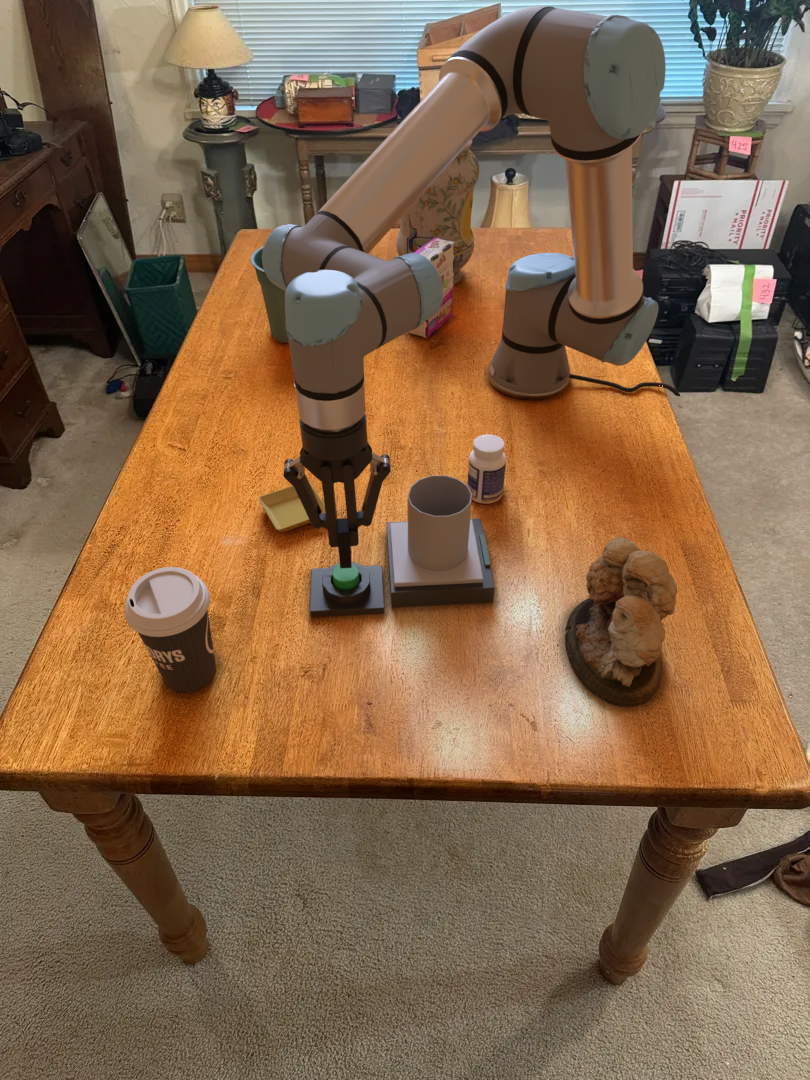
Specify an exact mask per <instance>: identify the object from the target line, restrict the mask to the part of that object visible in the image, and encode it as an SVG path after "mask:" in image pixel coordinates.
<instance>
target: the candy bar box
mask: <svg viewBox="0 0 810 1080" xmlns="http://www.w3.org/2000/svg"><path fill="white" fill-rule="evenodd" d="M454 243H455V242H452V241H448V240H444V239H440V238H433V239H432V240H431V241H429V242H428V243H427V244H425V245H424V246H422V247H421V248H420V249H418V250H417V251H415V252H414V253H417V254H420V255H423V256H424V257H426V258H427V259H428V260H430V261H431V262H432V264H433V265H434V266H435V268H436V269H437V271H438V273H439V275H440V277H441V280H442V284H443V300H442V304H441V306H440V309H439V310H438V311H437V313H436V314H435V315H433V316H432V317H430V318H429V319H428V320H426V321H425V322H423V323H422V324H421V325H420V326H419V327H417V328H416V329H413V330H410V331H408V332H407V333H408V334H410V335H412V336H417V337H419V338H424V339H428V338H430V337H431V336H432V335H433V334H434V333H436V331H437V330H439V329H440V328H442V326H443V325H445V324H446V323H447V322H448V321H449V320H450V319H452V318H453V316H454V315H453V313H454V311H453V310H454V284H453V278H454Z"/></svg>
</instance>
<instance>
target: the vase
mask: <svg viewBox="0 0 810 1080" xmlns="http://www.w3.org/2000/svg"><path fill="white" fill-rule="evenodd" d="M472 144H473V139H472V140H471V141H470V142H469V143H468V144H467V146H466V147H465V148H464V149H463V150H462V151H461V152H460V153H459V154H458V155H457V157H456V158H455V159H454V160H453V161H452V162H451V163H450V164H449V165H448V167H447V168H446V169H445V170H444V171H443V172H442V173H441V174H440V175H439V176H438V178H437V179H436V180H435V181H434V182H433V183H432V184H431V185H430V186H429V187H428V189H427V190H426V191H425V192H424V193H423V194H422V195H421V196H420V197H419V198H418V200H417V201H416V202H415V203H414V204H413V205H412V206H411V207H410V208H409V209H408V211H407V212H406V213H405V214H404V215H403V216H402V217H401V218H400V224H399V225H400V226H399V230H398V232H397V237H396V244H395V247H396V248H395V249H396V252H397V256H402V255H405V254H410V253H414V252H415V251H417V250H418V249H420V248H421V247H422V246H424V245H425V244H427V243H428V242H429V241H431V240H432V239H433V238H440V239H444V240H448V241H452V242H455V243H454V278H453V285H455V284H457V283H459V282H460V281H461V280H462V277H463V272H462V269H463V268H464V267H465V266H466V265H467V263H469V261H470V259H471V257H472V255H473V253H474V248H475V236H474V233H473V230H472V214H473V213H472V212H473V202H474V190H475V186H476V184H477V182H478V181H479V177H480V163H479V160H478V157H477V156H476V155H475V154H474V153H473V152H472V151H471V150H470V148H471V146H472Z"/></svg>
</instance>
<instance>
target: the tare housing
mask: <svg viewBox="0 0 810 1080" xmlns="http://www.w3.org/2000/svg"><path fill="white" fill-rule="evenodd" d="M351 562H352V564H354V565H355V566H356V567H357V568H358V570H359V584H358V585H357V586H356V587H355V588H353V589H351V590H340V589H338V588H336V587H335V585H334V583H333V575H332V572H333V569H334V568H335V567H336V566H337V565H339V564H340V561H339V562H337V563H335V564H333V565H330V566H329V567H318V568H317V567H316V568H311V570H310V597H309V616H310V618H318V617H341V616H357V615H358V616H359V615H360V616H361V615H379V614H385V596H384V595H385V593H384V580H383V578H384V577H383V576H384V575H383V565H363V564H360V563H358V562H355V561H351Z"/></svg>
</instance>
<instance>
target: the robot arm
mask: <svg viewBox="0 0 810 1080" xmlns="http://www.w3.org/2000/svg"><path fill="white" fill-rule="evenodd" d="M664 49H665V48H664V44H663V43H662V40H661V37H660V35H659V34H658V32H657V31H656V30H655V29H654V28H653V27H652V26H650V25H649V24H648V23H645V22H643V21H640V20H635V19H632V18H629V17H628V16H625V15H623V14H622V15H620V14H619V15H618V14H611V15H601V14H596V13H589V12H585V11H577V10H571V9H565V8H558V7H555V6H549V5H532V6H526V7H523V8H520V9H516V10H514V11H511V12H509V13H507V14H505V15H503V16H501V17H499V18H498V19H496V20H494V21H492V22H491V23H489V24H488V25H486V26H485V27H483V28H482V29H480V30H479V31H477V32H476V33H474V35H473V36H471V37H469V39H468V40H466V41H465V42H464V43H463V44H462V45H461V46H459V48H457V50H456V51H455V52H453V54H451V56H450V57H449V58H448V59H447V60H446V61H445V62H444V63H443V64H442V65H441V68H440V71H439V73H438V82H437V83H436V84H435V85H434V86H433V88H432V89H431V90H430V91H429V92H428V93H427V94H426V95H425V96H424V97H423V98H422V100H420V101H419V102H418V103H417V105H416V106H415V107H414V108H413V109H412V110H411V111H410V112H409V113H408V114H407V115H406V116H405V118H404V119H402V121H401V122H400V123H399V124H398V125H397V126H396V127H395V129H393V131H392V132H391V133H390V134H388V136H387V137H386V138H385V139H384V140H383V141H382V142H381V143H380V144H379V146H377V148H376V149H375V150H374V151H373V152H372V153H371V154H370V155H369V156H368V157H367V158H366V159H365V161H364V162H362V164H360V166H359V167H358V168H357V169H356V170H355V171H354V172H353V174H351V176H349V177H348V178H347V180H346V181H345V182H344V183H343V184H342V185H341V186H340V187H339V188H338V190H336V192H335V193H334V194H333V195H332V196H330V198H329V199H328V200H327V201H326V202H325V203H324V204H323V206H322V207H321V208H320V209H319V210H318V211H317V212H316V214H315V215H314V216H312V217H311V218H310V220H308V222H307V223H306V224H305V225H304V226H302V225H300V224H291V223H289V224H288V223H287V224H282V225H280V226H277V227H275V229H273V230H272V231H271V232H270V234H268V236H267V238H266V240H265V242H264V245H263V246H264V248H263V253H262V264H263V269H264V272H265V273H266V277H267V278H268V279H269V280H270V281H271V282H272V283H273V284H274V285H276V286H277V287H279V288H281V289H282V290H284V291H286V292H285V314H286V320H285V325H286V330H287V335H288V341H289V343H288V348H289V354H290V359H291V360H290V361H291V366H292V373H293V380H294V391H295V399H296V407H297V414H298V417H299V420H298V422H299V423H298V424H299V429H300V430H299V431H300V437H301V445H302V447H301V449H300V450H299V456H298V457H296V458H294V459H293V458H286V459H285V460H284V463H283V474H282V475H283V478H284V479H285V480H286V481H287V482H288V483H289V484H290V485H291V486H292V485H293V486H294V488H295V490H296V492H297V494H298V496H299V499H300V501H301V503H302V505H303V507H304V509H305V511H306V513H307V516H308V518H309V520H310V522H311V523H310V524H311V526H312V528H313V529H315V530H320V529H321V528H323V529H325V530H326V531H327V537H328V546H330V548H338V558H339V562H340V568H352V562H353V561H352V547H358V545H359V542H360V541H359V540H360V539H359V529H360V527H361V526H363V527H370V526H371V525H372V522H373V519H374V515H375V512H376V508H377V503H378V501H379V496H380V494H381V493H380V492H381V489H382V485H383V482H384V481H385V480H386V478H387V477H388V476H389V475H390V473H391V457H390V456H389V454H387V453H383V454H381V455H379V454H376V453H374V452H373V448H372V447H371V445H370V443H369V441H368V425H367V414H366V411H367V409H366V389H365V388H366V387H365V373H364V372H365V370H364V369H365V365H364V363H365V361H364V360H365V359H364V358H365V356H367V355H369V354H371V353H372V352H375V351H376V350H378V349H380V348H381V347H383V346H384V345H386V344H388V343H390V342H392V341H393V340H396V339H398V338H399V337H401V336H403V335H405V334H407V333H408V331H410V330H413V329H416V328H417V327H419V326H420V325H421V324H422V323H423V322H425V321H426V320H428V319H429V318H430V317H432V316H433V315H435V314H436V313H437V311H438V310H439V309H440V306H441V304H442V300H443V284H442V280H441V277H440V275H439V273H438V271H437V269H436V268H435V266H434V265H433V264H432V262H431V261H430V260H428V259H427V258H426V257H424V256H423V255H420V254H417V253H410V254H405V255H402V256H399V255H397V256H395V257H393V258H392V259H391V260H385V259H383V258H381V257H379V256H375V255H372V254H370V253H371V251H372V250H373V249H374V248H375V247H376V246H378V244H379V243H380V242H381V241H382V239H384V237H385V236H386V235H387V234H388V233H389V232H390V231H391V229H392V228H393V227H394V226H395V225H396V224H397V223H398V222H399V221H400V220H401V217H402V216H403V215H404V214H405V213H406V212H407V211H408V209H409V208H410V207H411V206H412V205H413V204H414V203H415V202H416V201H417V200H418V198H419V197H420V196H421V195H422V194H423V193H424V192H425V191H426V190H427V189H428V187H429V186H430V185H431V184H432V183H433V182H434V181H435V180H436V179H437V178H438V176H439V175H440V174H441V173H442V172H443V171H444V170H445V169H446V168H447V167H448V165H449V164H450V163H451V162H452V161H453V160H454V159H455V158H456V157H457V155H458V154H459V153H460V152H461V151H462V150H463V149H464V148H465V147H466V146H467V144H468V143H469V142H470V141H471V140H472V141H473V139H474V138H475V137H476V136H477V135H478V134H479V133H480V132H488V131H491V130H493V129H494V128H495V127H496V126H497V125H498V124H499V123H500V122H501V120H503V118H505V117H508V116H512V115H525V116H529V117H534V118H537V119H540V120H545V121H547V122H548V124H549V133H550V142H551V146H552V149H553V151H554V152H555V153H556V154H557V155H558V156H559V157H561V158H562V159H564V164H565V173H566V174H565V175H566V184H567V186H566V187H567V195H568V205H569V207H568V208H569V217H570V228H571V237H572V249H573V256H571V255H568V254H565V253H559V252H539V253H533V254H529V255H525V256H523V257H520V258H519V259H517V260H516V261H514V262H513V263H512V264H511V265H510V266H509V269H508V273H507V278H506V284H505V286H504V289H505V296H504V305H503V306H504V308H503V317H502V329H501V330H502V331H501V339H500V341H499V343H498V345H497V347H496V350H495V352H494V354H493V356H492V358H491V361H490V364H489V367H488V381H489V383H490V384H491V386H492V387H493V388H494V389H496V390H497V391H498V392H500V393H502V394H503V395H505V396H509V397H511V398H514V399H519V400H526V401H539V400H546V399H551V398H553V397H557V396H558V395H560V394H561V393H563V392H564V391H565V390H567V388H568V386H569V383H570V379H572V380H577V381H583V382H588V383H591V384H592V383H593V384H598V385H603V386H607V387H611V388H614V389H617V390H619V391H622V392H624V393H633V392H636V391H638V390H639V389H640V388H644V387H656V388H663V389H666V390H668V391H670V392H671V393H672V394H673V395H674V396H675V397H681V394H680V392H679V391H678V390H677V389H676V388H675V387H674V386H672V385H670V384H667V383H665V382H656V381H653V382H652V381H651V382H650V381H647V382H646V381H645V382H639V383H637V384H636V385H635V386H632V387H626V386H623V385H620V384H618V383H615V382H611V381H608V380H603V379H598V378H593V377H589V376H583V375H577V374H572V373H571V370H570V365H569V358H568V353H567V348H570V349H572V350H574V351H577V352H579V353H581V354H584V355H586V356H589V357H590V358H592V359H596V360H598V361H600V362H602V363H607V364H611V365H614V366H617V367H621V366H625V365H627V364H629V363H631V361H633V359H635V357H637V355H638V354H639V352H641V350H642V349H643V347H644V345H645V343H646V342H647V340H648V339H649V337H650V335H651V333H652V331H653V328H654V326H655V324H656V321H657V318H658V314H659V304H658V302H657V301H656V300H655V299H653V298H652V297H646V296H645V295H644V283H643V279H642V277H641V275H640V274H639V272H638V271H637V270H635V269H634V247H633V246H634V237H633V234H634V233H633V230H634V229H633V226H634V225H633V146H635V144H636V143H638V141H639V140H640V138H641V137H642V136H643V135H642V134H643V133H644V132H645V131H646V129H648V127H649V126H650V125H651V124H652V122H653V120H654V119H655V116H656V114H657V112H658V109H659V107H660V103H661V100H662V99H661V93H662V91H663V90H664V88H665V82H666V67H667V66H666V55H665V50H664ZM566 347H567V348H566ZM659 385H660V386H659ZM662 385H663V387H662ZM368 466H369V471H370V474H369V478H368V483H367V486H366V490H365V494H364V498H363V503H362V506H361V510H359V511H358V510H357V509H358V507H357V496H356V495H357V493H356V481H355V480H357V479H358V478H359V477H360V475H362V473H363V472H364V471H365V469H366V468H367V467H368ZM306 470H307V471H309V473H310V474H311V475H313V476H314V477H315V478H316V479H317V480H319V481H320V482H321V487H322V488H321V489H322V493H323V502H324V504H325V513H322V510H321V508H320V506H319V504H318V501H317V499H316V497H315V495H314V492H313V490H312V488H311V486H310V484H309V482H310V481H309V479H308V477H307V474H306ZM337 483H341V484H343V490H344V497H345V498H344V499H345V511H346V512H345V513H346V517H341V518H340V517H339V518H338V511H337V504H336V503H337V502H336V493H335V484H337Z"/></svg>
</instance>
